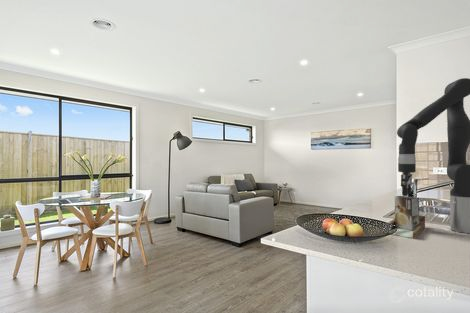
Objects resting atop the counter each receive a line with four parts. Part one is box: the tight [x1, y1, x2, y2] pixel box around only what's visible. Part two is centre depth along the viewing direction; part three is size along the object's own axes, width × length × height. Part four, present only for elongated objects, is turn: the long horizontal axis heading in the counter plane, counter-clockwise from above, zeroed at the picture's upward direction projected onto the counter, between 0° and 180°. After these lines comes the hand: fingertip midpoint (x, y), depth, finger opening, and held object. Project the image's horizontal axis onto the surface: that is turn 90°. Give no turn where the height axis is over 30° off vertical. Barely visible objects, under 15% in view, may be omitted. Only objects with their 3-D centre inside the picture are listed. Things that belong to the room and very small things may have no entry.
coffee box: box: [394, 195, 420, 231], centre depth 131 cm, size 9×6×16 cm
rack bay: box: [388, 214, 426, 240], centre depth 127 cm, size 13×27×6 cm, turn 136°
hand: (406, 194), depth 132 cm, fingers open, 8 cm apart
